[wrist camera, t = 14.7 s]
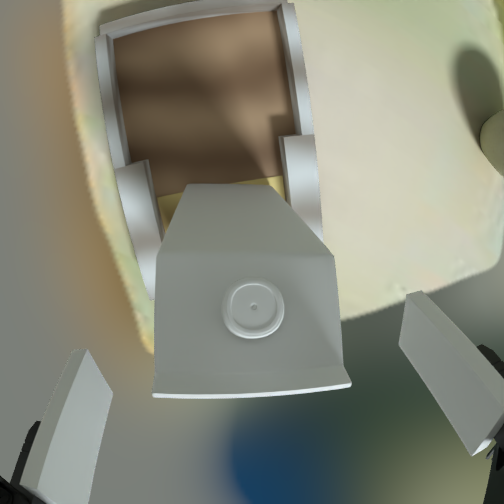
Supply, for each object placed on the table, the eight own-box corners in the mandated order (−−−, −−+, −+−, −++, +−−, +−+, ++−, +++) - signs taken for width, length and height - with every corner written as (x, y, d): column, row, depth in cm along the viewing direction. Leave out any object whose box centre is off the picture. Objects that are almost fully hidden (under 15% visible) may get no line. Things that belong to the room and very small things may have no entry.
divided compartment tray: (105, 36, 20) (93, 27, 17) (283, 5, 21) (291, -7, 18) (159, 296, 31) (154, 314, 28) (315, 269, 32) (325, 283, 29)
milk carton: (265, 261, 29) (331, 437, 12) (188, 261, 28) (166, 447, 11) (271, 184, 26) (377, 303, 9) (186, 183, 26) (134, 309, 8)
